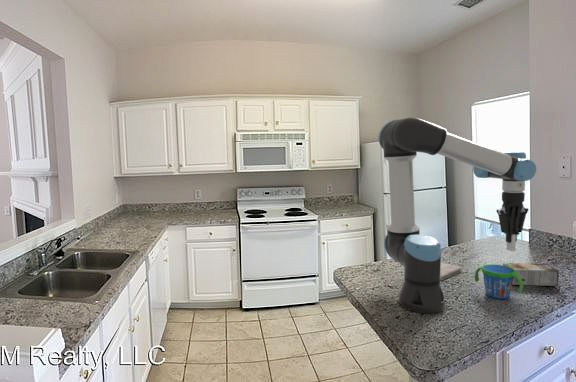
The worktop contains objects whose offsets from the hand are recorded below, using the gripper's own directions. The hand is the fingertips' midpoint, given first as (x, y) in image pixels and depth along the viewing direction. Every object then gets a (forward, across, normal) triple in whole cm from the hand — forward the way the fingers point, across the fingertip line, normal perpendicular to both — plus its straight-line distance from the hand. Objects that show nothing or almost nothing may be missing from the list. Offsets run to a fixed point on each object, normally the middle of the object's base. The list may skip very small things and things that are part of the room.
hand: (510, 250), depth 142 cm
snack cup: (+13, -16, -11) cm, 23 cm away
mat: (+13, +6, 0) cm, 14 cm away
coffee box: (+9, -2, -1) cm, 9 cm away
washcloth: (+13, -20, +16) cm, 29 cm away
